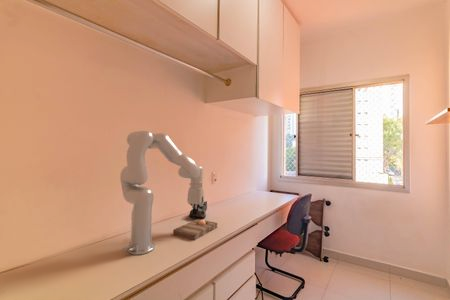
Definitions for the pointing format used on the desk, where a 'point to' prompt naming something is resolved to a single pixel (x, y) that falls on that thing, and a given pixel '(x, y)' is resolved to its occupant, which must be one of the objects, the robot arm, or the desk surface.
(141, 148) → the robot arm
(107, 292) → the desk surface
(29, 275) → the desk surface
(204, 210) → the lucky cat figurine
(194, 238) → the board
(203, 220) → the ball
